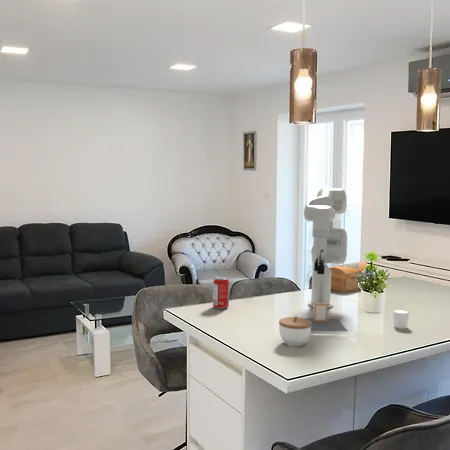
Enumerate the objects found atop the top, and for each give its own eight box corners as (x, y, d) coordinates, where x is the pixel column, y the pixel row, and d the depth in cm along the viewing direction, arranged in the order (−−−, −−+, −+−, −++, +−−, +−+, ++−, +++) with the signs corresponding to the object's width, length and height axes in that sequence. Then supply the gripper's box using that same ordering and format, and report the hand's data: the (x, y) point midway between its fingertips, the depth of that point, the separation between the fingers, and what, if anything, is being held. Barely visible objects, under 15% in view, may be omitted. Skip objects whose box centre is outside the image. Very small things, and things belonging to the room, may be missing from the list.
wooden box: (349, 282, 349) (350, 260, 348) (373, 286, 338) (374, 263, 337) (321, 288, 328) (322, 265, 327) (345, 293, 317) (346, 269, 315)
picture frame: (313, 320, 254) (313, 302, 253) (326, 320, 254) (326, 303, 253) (313, 321, 251) (314, 303, 251) (327, 321, 251) (327, 304, 251)
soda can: (210, 308, 273) (211, 278, 271) (215, 305, 280) (216, 275, 279) (225, 310, 270) (226, 279, 269) (230, 306, 277) (231, 277, 276)
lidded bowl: (316, 344, 220) (318, 316, 219) (298, 351, 211) (299, 322, 210) (290, 337, 228) (291, 310, 227) (272, 343, 219) (272, 316, 218)
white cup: (410, 326, 249) (410, 310, 249) (406, 329, 243) (407, 314, 243) (394, 323, 253) (395, 308, 252) (390, 327, 247) (391, 311, 246)
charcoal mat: (298, 319, 256) (299, 318, 256) (337, 320, 257) (338, 318, 257) (305, 331, 237) (305, 330, 237) (347, 332, 237) (347, 331, 237)
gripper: (309, 231, 264) (308, 269, 266) (315, 236, 247) (314, 275, 249) (325, 232, 264) (323, 269, 266) (332, 236, 247) (331, 276, 249)
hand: (319, 272), depth 258 cm, fingers open, 6 cm apart
